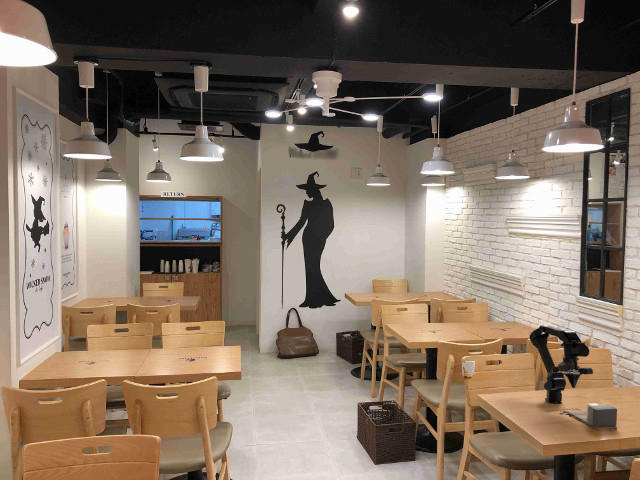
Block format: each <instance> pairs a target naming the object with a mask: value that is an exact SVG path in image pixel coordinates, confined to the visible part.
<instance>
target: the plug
mask: <svg viewBox="0 0 640 480" xmlns="http://www.w3.org/2000/svg"><path fill="white" fill-rule="evenodd" d="M586 404H587V405H586V411H587V419H588V406H596V405H600V404H599V403H594V402H593V403H586Z"/></svg>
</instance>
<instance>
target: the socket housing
mask: <svg viewBox="0 0 640 480" xmlns="http://www.w3.org/2000/svg"><path fill="white" fill-rule="evenodd" d="M617 419H618V408H617V407H614V406H613V405H610V404H601V405H600V404H599V405H596V406H588V423H589V424H591V425H592V426H594V427H607V426H617V425H618V424H617V423H618V422H617V421H618V420H617Z"/></svg>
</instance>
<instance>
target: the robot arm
mask: <svg viewBox="0 0 640 480" xmlns="http://www.w3.org/2000/svg"><path fill="white" fill-rule="evenodd" d="M550 336H553V337H556V338H558V340H559V341H560V342H561V344H560V347H563V355H564V357H562V361H561V362H559V364H557V365H555V362H554V360H553V358H552V357H553V356H551V353H550V351H549V348H548V341H549V340H548V339H549V337H550ZM529 340H530V342H531V345H533V347H534V348H536V349H537V351H538V352H539V356H540V358H541V360H542V362H543V365H544V367H545V371H546V373H547V374H546V382H545V383H543V388H544V389H545V390H546V397H545V398H544V399H545V400H546V401H547V402H548V403H549V404H563V402H562V401H563V394H562V392H564V391H565V388H566V386H567V381H566V378H567V380H568V382H569V384H570V386H571V388H572V389H575V388H576V386H577V383H578V381H579V379H580V377H581V376H582V375H594V370H593V369H592V368H591V367H580V366H579V365H578V363H579V362H578V361H579V360H580V358H579V357H582V358H586V357H588V356H589V355H590V349H589V347H588V346H587V345H586V343H585V342H582V340H581V338H580V337H579V335H578V333H577V331H575V330H569V329H568V330H567V329H562V328H561V329H560V328H557V327H554V326H551V325H549V324H542V325H539V327H537V328H536V329H534V330H533V331H532V332H531V333H530V334H529Z"/></svg>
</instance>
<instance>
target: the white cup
mask: <svg viewBox="0 0 640 480" xmlns="http://www.w3.org/2000/svg"><path fill="white" fill-rule="evenodd" d="M463 367H464V368H465V370H466V371H467V372H468V373H469V375H470V376H472V375H473V373H474V374H475V371H474V370H476V360H475V361H465V363H464V362H462V361H461V371H462V372H461V373H462V375H461V376H462V377H464V370H463Z"/></svg>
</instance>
